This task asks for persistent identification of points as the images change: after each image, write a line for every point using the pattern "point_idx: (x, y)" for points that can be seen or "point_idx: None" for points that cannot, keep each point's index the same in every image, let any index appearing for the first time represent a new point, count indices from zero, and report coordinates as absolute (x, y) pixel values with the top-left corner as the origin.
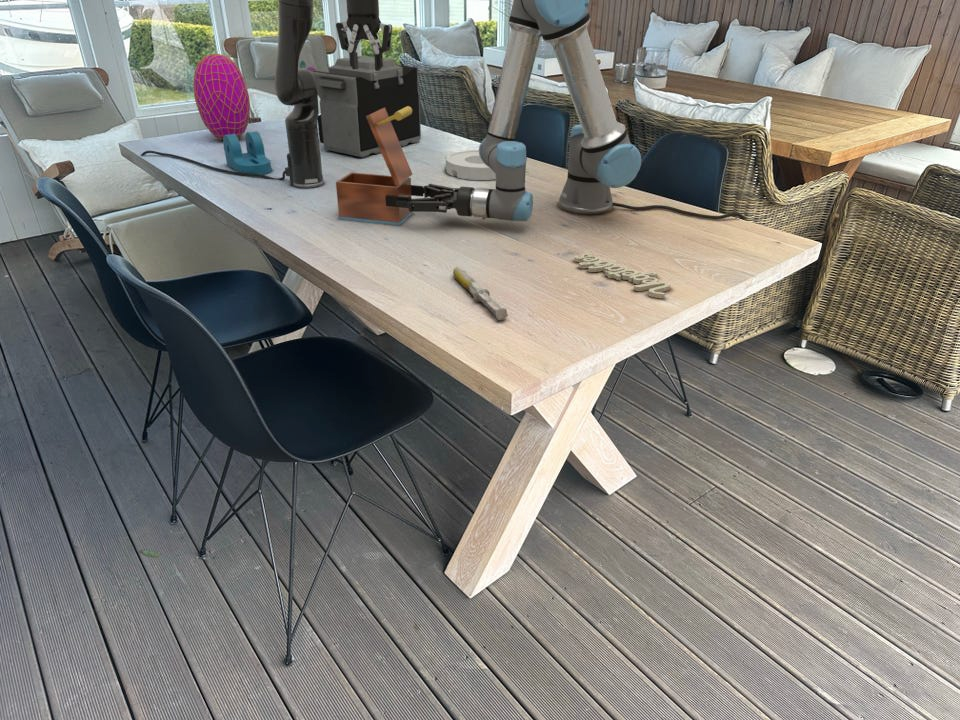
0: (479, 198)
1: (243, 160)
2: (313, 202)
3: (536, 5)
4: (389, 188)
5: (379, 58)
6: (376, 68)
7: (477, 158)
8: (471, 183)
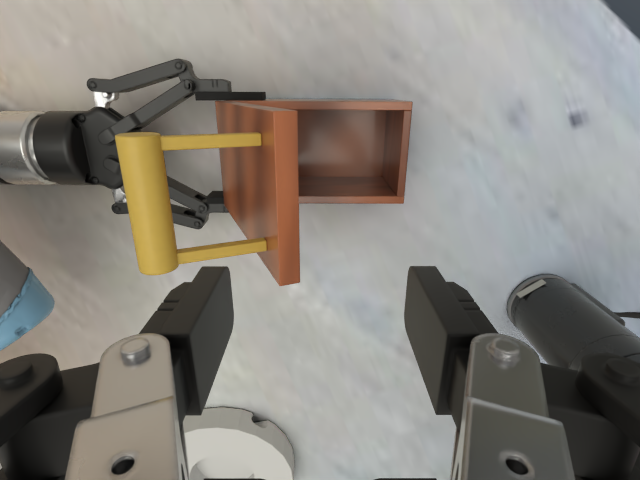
0: (6, 118)
1: None
2: (489, 193)
3: None
4: (249, 101)
5: (154, 327)
6: (211, 270)
7: None
8: (213, 390)
